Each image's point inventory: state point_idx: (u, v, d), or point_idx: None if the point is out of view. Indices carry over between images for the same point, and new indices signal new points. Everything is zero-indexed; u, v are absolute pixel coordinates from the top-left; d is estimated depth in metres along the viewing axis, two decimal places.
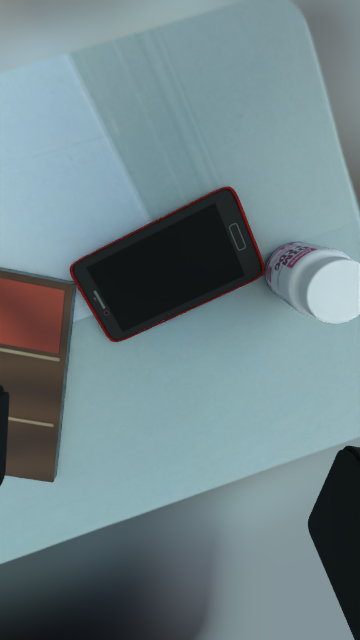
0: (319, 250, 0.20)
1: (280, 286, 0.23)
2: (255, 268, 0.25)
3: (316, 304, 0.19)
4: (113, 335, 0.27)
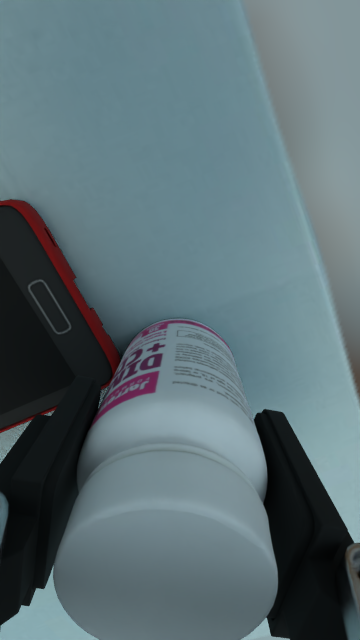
0: (152, 401, 0.07)
1: None
2: (98, 368, 0.12)
3: (89, 611, 0.06)
4: None
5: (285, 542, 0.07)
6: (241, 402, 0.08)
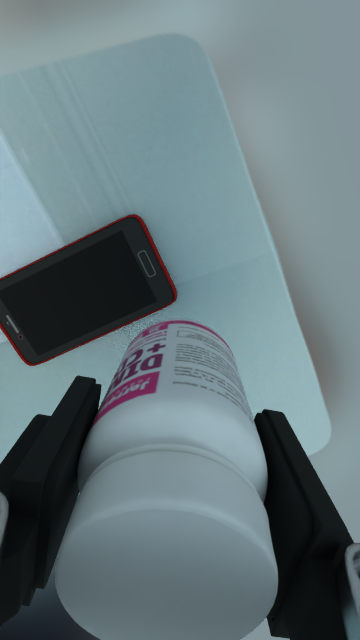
0: (153, 401, 0.07)
1: None
2: (167, 294, 0.25)
3: (90, 611, 0.06)
4: (29, 359, 0.27)
5: (285, 542, 0.07)
6: (241, 402, 0.08)
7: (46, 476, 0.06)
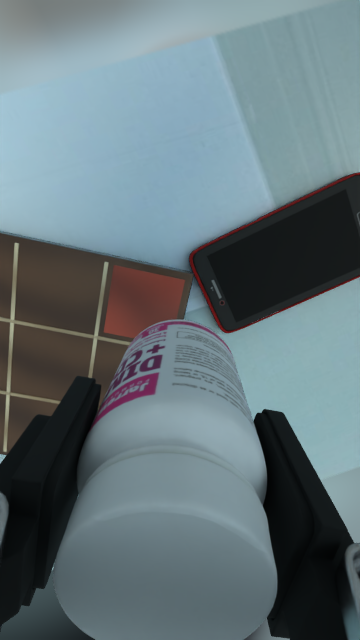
0: (152, 403, 0.07)
1: None
2: None
3: (89, 613, 0.06)
4: (226, 326, 0.27)
5: (285, 542, 0.07)
6: (241, 404, 0.08)
7: (46, 476, 0.06)
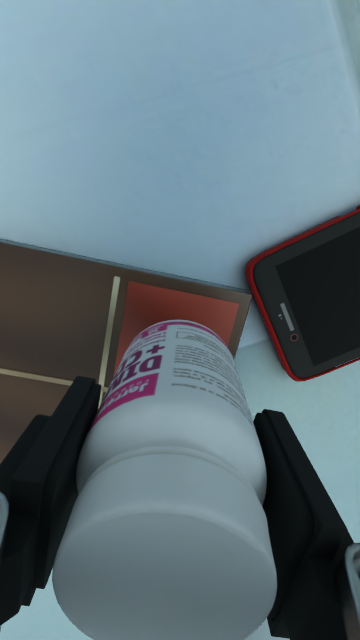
0: (152, 403, 0.07)
1: None
2: None
3: (88, 614, 0.06)
4: (298, 371, 0.18)
5: (285, 542, 0.07)
6: (240, 404, 0.08)
7: (46, 476, 0.06)
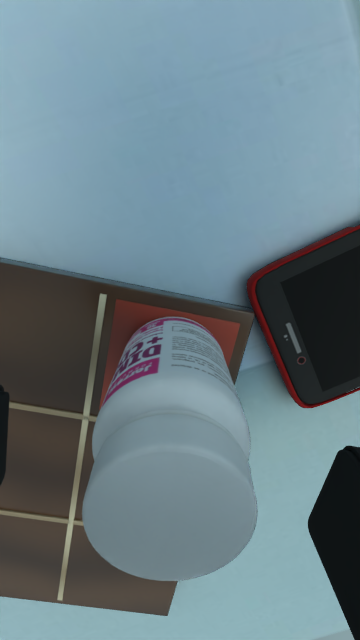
0: (156, 379, 0.09)
1: None
2: None
3: (110, 542, 0.07)
4: (306, 397, 0.16)
5: None
6: (228, 382, 0.10)
7: None
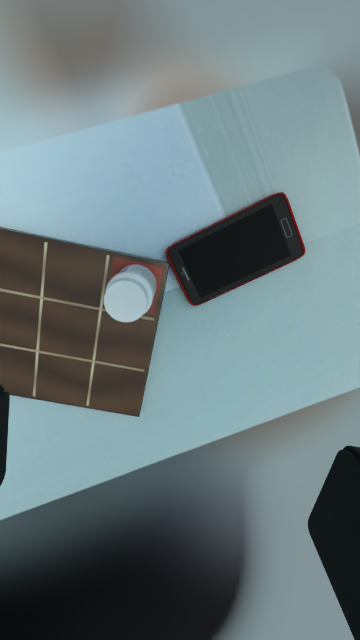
0: (123, 273, 0.30)
1: None
2: (298, 250, 0.36)
3: (110, 308, 0.29)
4: (193, 300, 0.37)
5: None
6: (147, 278, 0.31)
7: None
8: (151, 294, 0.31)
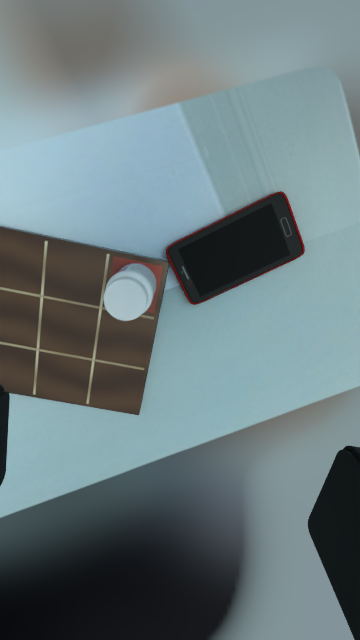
0: (123, 271, 0.30)
1: None
2: (298, 249, 0.36)
3: (110, 307, 0.29)
4: (193, 299, 0.37)
5: None
6: (147, 277, 0.32)
7: None
8: (151, 293, 0.31)
